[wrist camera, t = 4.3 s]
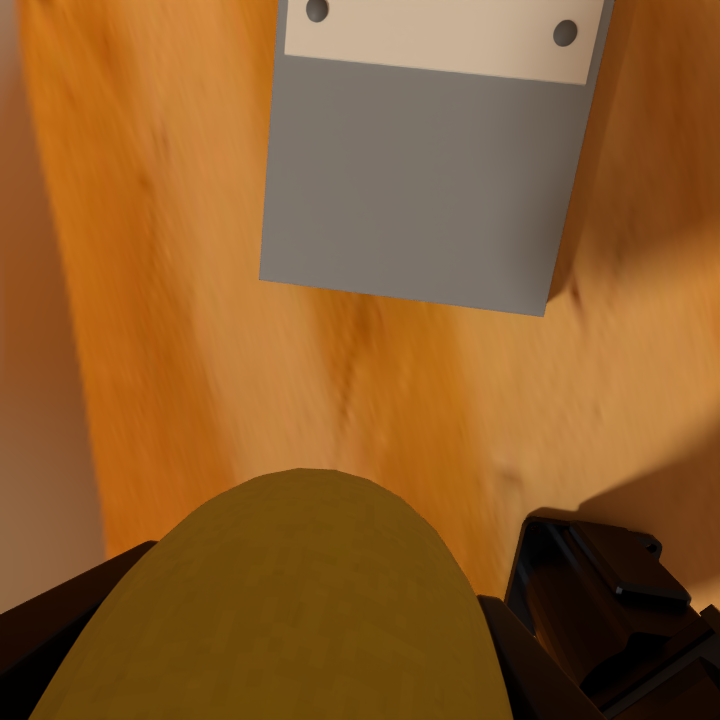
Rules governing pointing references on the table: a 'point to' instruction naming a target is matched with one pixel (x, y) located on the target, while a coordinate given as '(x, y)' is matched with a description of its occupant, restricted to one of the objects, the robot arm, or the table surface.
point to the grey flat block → (428, 145)
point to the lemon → (287, 617)
